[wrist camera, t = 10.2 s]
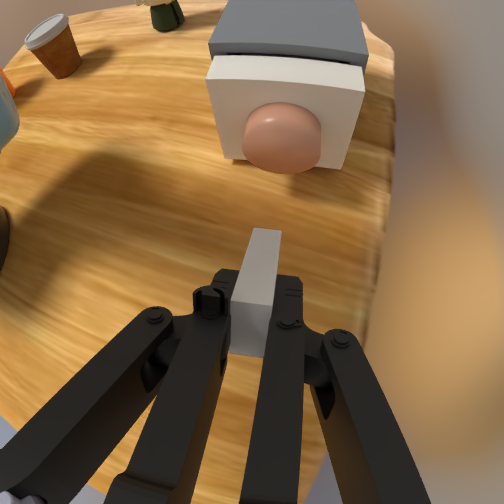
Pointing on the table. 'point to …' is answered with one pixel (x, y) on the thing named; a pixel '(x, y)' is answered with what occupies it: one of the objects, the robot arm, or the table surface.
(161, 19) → the character mug
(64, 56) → the disposable coffee cup
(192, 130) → the table surface
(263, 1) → the block
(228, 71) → the white drawer
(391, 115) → the table surface
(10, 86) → the shaker bottle
